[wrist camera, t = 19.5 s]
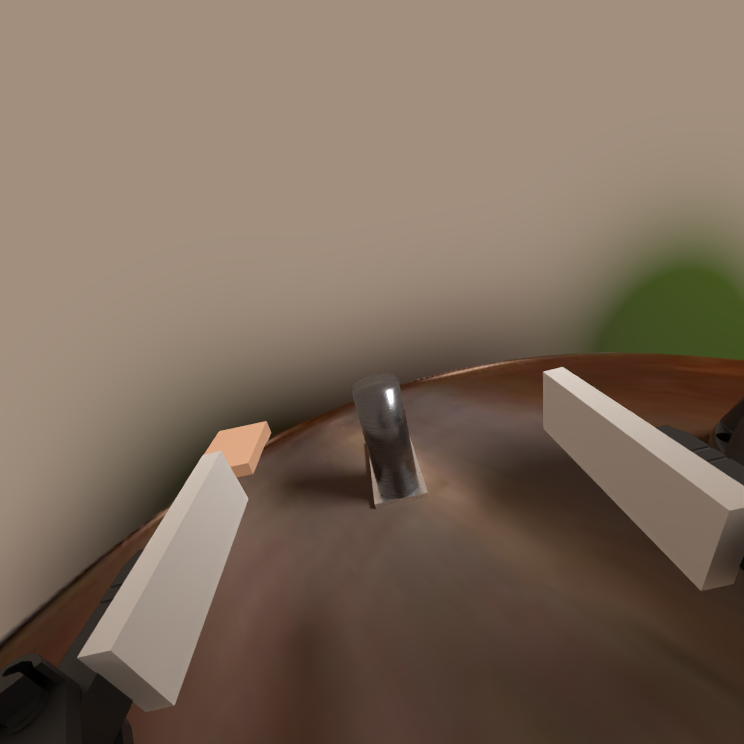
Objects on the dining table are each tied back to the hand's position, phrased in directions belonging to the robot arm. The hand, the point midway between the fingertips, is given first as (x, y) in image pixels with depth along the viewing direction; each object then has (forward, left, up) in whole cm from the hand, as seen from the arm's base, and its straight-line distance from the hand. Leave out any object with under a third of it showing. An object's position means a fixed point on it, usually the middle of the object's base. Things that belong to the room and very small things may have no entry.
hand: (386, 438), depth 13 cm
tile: (+20, -20, -15) cm, 32 cm away
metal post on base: (0, -16, -16) cm, 22 cm away
